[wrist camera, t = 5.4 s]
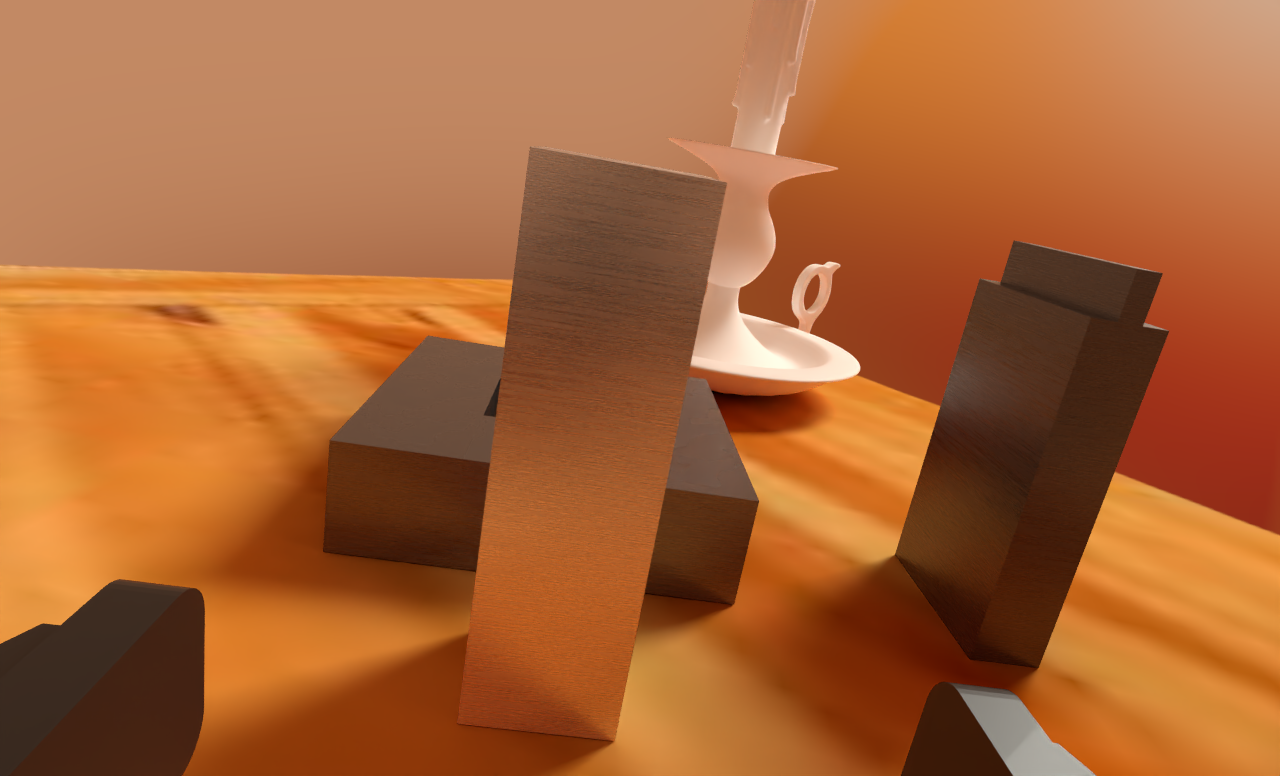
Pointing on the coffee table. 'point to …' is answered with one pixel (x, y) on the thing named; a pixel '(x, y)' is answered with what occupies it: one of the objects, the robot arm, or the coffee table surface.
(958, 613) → the block
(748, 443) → the coffee table surface
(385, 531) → the bore plate
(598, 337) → the square bit
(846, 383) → the coffee table surface
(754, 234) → the candlestick
